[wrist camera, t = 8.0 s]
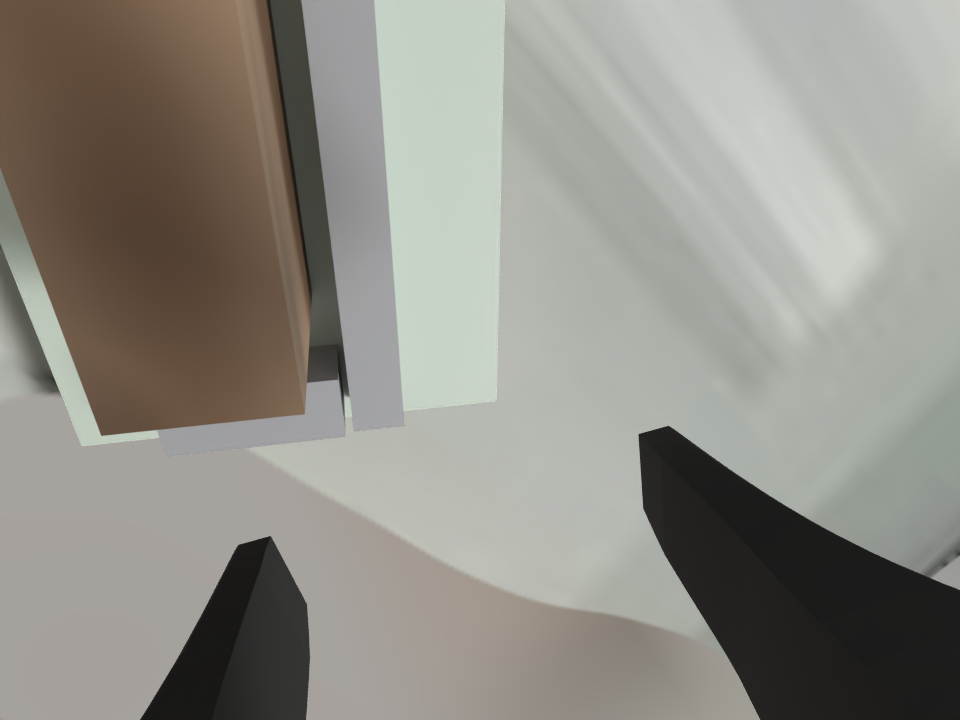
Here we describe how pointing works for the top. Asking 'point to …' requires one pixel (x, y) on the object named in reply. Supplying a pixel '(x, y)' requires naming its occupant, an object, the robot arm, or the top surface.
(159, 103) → the brown rectangular box
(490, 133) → the board
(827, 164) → the top surface
